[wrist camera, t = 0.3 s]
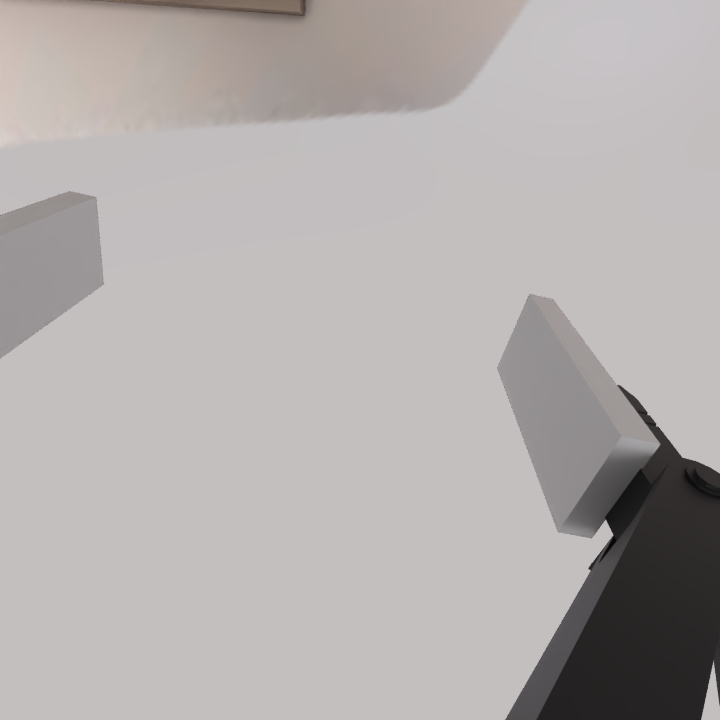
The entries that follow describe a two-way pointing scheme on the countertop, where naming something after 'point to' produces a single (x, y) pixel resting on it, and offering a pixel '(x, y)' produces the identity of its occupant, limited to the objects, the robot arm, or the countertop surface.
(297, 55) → the countertop surface
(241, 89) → the countertop surface
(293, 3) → the wooden tray
